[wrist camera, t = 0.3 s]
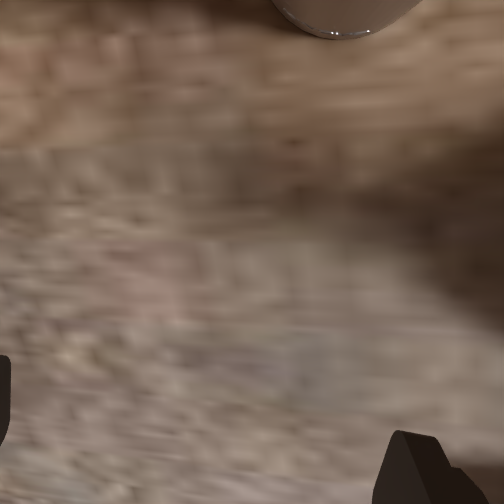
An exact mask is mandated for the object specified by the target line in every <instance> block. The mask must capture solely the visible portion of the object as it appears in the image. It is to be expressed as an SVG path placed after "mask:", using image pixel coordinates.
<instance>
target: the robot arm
mask: <svg viewBox="0 0 504 504" xmlns="http://www.w3.org/2000/svg"><path fill="white" fill-rule="evenodd" d="M421 1H422V0H272V2H273V4H274V5H275V7H276V8H277V9H278V10H279V11H280V12H281V13H282V14H283V15H284V16H285V17H286V18H287V20H289V21H290V22H292V23H293V24H294V25H296V26H297V27H299V28H300V29H302V30H303V31H305V32H308V33H311V34H313V35H316V36H318V37H321V38H328V39H335V40H345V39H355V38H360V37H363V36H366V35H370V34H373V33H376V32H378V31H380V30H381V29H383V28H385V27H387V26H388V25H390V24H392V23H394V22H395V21H396V20H397V19H399V18H400V17H401V16H402V15H404V14H405V13H406V12H407V11H409V10H410V9H411V8H413V7H414V6H416V5H417V4H418V3H419V2H421ZM10 393H11V362H10V359H9V358H8V357H7V356H5V355H0V446H1V444H2V442H3V440H4V438H5V435H6V433H7V430H8V426H9V422H10ZM372 504H489V503H488V501H487V499H486V497H485V496H484V494H483V492H482V491H481V490H480V489H479V488H478V487H477V486H476V485H475V484H474V482H473V481H472V480H471V479H470V478H469V477H468V476H467V475H466V474H465V473H464V472H463V471H462V470H461V469H460V468H454V467H451V465H450V463H449V461H448V459H447V457H446V455H445V453H444V451H443V449H442V447H441V445H440V443H439V442H438V440H437V439H436V438H435V437H432V436H427V435H422V434H416V433H411V432H405V431H400V430H396V431H395V432H394V433H393V435H392V437H391V439H390V442H389V445H388V448H387V451H386V454H385V457H384V460H383V463H382V466H381V468H380V471H379V474H378V477H377V480H376V483H375V486H374V490H373V496H372Z"/></svg>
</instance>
